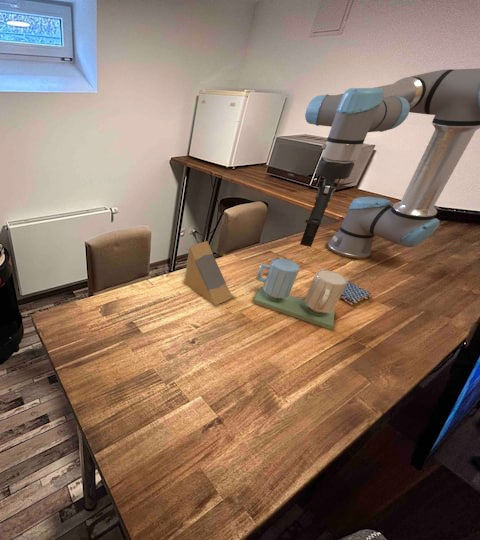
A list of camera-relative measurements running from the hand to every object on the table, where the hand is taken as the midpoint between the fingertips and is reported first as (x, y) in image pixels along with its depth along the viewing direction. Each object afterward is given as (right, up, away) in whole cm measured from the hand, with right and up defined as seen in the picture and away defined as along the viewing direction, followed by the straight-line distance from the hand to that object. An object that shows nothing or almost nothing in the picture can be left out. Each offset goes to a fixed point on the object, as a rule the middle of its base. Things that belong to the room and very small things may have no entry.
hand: (308, 236), depth 85 cm
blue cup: (-6, -16, +10) cm, 20 cm away
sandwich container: (-24, -17, +17) cm, 34 cm away
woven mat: (+23, -18, +15) cm, 33 cm away
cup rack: (+1, -22, +9) cm, 24 cm away
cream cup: (+5, -21, +3) cm, 22 cm away
